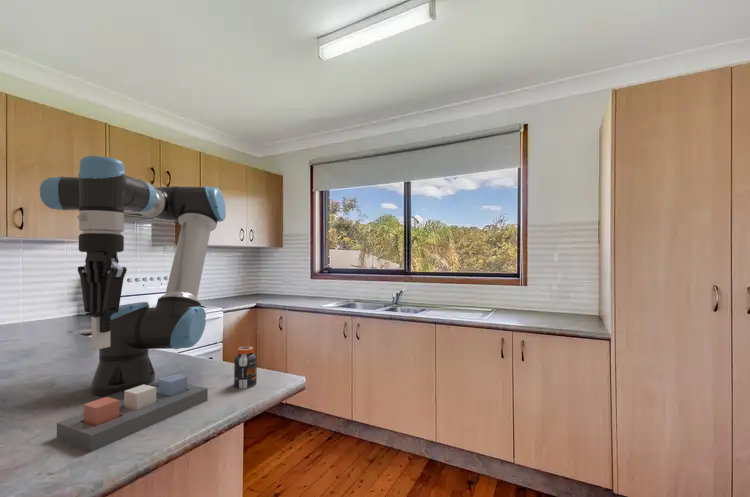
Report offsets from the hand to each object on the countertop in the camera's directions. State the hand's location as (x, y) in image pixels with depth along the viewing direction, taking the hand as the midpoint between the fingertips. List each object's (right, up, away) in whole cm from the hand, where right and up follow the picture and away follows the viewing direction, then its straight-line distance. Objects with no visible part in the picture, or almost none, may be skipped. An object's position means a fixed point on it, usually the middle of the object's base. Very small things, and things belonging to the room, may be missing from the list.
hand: (101, 347), depth 76 cm
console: (+3, -19, +7) cm, 20 cm away
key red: (0, -15, 0) cm, 15 cm away
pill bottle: (+20, -19, +28) cm, 39 cm away
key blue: (+7, -15, +15) cm, 22 cm away
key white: (+3, -15, +7) cm, 17 cm away
